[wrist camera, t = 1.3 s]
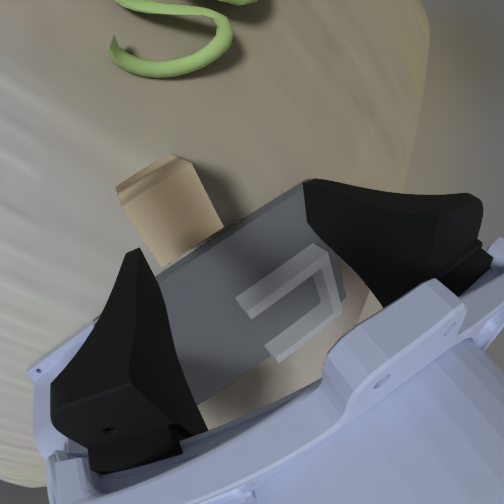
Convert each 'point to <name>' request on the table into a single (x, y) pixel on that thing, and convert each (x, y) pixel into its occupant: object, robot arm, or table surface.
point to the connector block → (169, 207)
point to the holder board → (250, 295)
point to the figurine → (180, 66)
